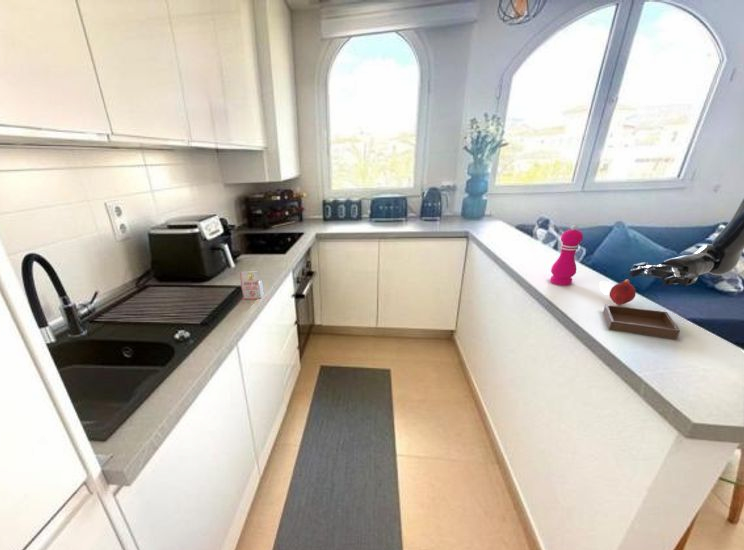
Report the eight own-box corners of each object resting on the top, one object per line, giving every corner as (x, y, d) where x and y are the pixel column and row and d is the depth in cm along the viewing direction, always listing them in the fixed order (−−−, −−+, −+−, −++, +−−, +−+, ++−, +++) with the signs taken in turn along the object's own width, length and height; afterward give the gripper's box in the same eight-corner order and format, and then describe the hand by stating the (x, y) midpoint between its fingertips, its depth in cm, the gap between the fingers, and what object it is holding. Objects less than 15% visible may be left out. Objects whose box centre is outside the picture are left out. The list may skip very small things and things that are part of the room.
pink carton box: (246, 295, 129) (241, 270, 125) (263, 295, 128) (259, 269, 124) (243, 299, 126) (238, 273, 121) (261, 299, 125) (257, 273, 121)
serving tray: (663, 320, 93) (667, 311, 91) (676, 339, 84) (680, 330, 83) (602, 312, 99) (605, 304, 98) (608, 329, 90) (611, 321, 89)
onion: (630, 310, 99) (639, 284, 95) (605, 306, 102) (613, 280, 99) (631, 303, 102) (641, 278, 99) (607, 299, 106) (615, 275, 102)
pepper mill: (552, 277, 125) (565, 221, 116) (575, 281, 120) (591, 224, 111) (545, 283, 121) (558, 225, 112) (569, 287, 116) (585, 228, 107)
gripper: (659, 251, 111) (625, 259, 106) (717, 262, 99) (682, 272, 94) (650, 273, 114) (617, 282, 110) (706, 286, 102) (671, 297, 98)
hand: (647, 277), depth 102 cm, fingers open, 8 cm apart
